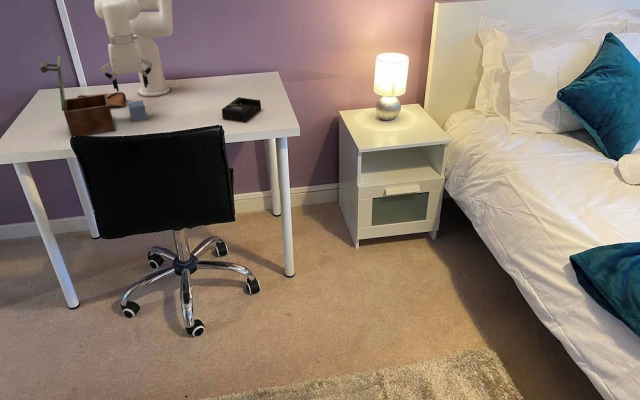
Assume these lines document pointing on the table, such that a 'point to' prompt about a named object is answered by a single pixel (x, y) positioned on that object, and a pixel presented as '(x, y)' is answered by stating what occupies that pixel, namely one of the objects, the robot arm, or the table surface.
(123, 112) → the table surface
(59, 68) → the lid
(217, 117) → the table surface
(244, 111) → the battery charger
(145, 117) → the block
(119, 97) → the sunglasses case
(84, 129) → the chest
